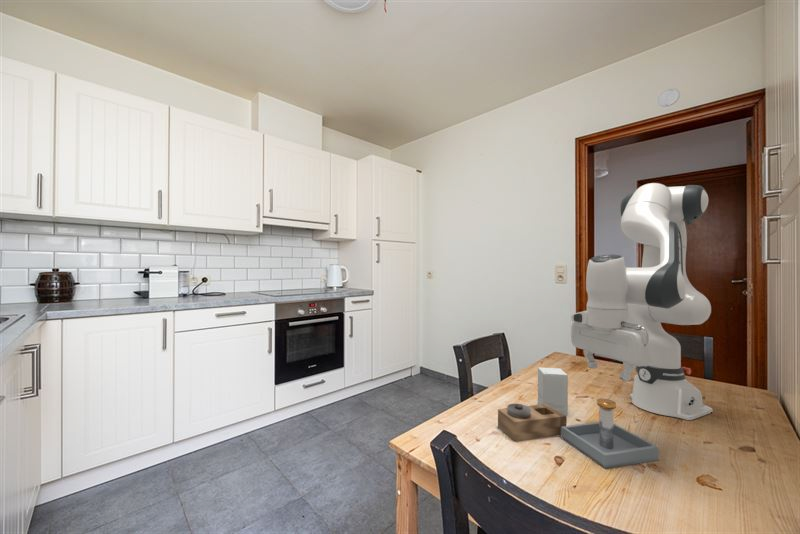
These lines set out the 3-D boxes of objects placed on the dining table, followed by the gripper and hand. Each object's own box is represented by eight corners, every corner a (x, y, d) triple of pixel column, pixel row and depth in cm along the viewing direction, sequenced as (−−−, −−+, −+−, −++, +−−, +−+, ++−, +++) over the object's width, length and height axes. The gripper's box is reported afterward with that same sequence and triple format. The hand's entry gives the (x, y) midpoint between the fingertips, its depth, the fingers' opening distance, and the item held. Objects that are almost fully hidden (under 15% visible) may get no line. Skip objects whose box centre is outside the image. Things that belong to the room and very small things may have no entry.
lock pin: (605, 440, 83) (605, 397, 83) (619, 448, 79) (619, 404, 79) (593, 442, 82) (593, 399, 82) (606, 450, 78) (606, 405, 78)
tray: (608, 431, 88) (608, 420, 89) (658, 459, 75) (658, 446, 75) (560, 438, 85) (561, 426, 85) (605, 468, 72) (605, 455, 72)
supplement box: (568, 416, 97) (568, 375, 98) (542, 414, 99) (542, 373, 99) (561, 406, 105) (561, 368, 105) (537, 404, 106) (537, 366, 106)
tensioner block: (546, 421, 94) (546, 395, 94) (566, 434, 87) (566, 407, 87) (497, 426, 90) (498, 400, 91) (514, 441, 83) (514, 412, 83)
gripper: (658, 325, 71) (660, 387, 71) (585, 312, 91) (586, 361, 91) (636, 327, 70) (637, 390, 70) (566, 314, 89) (567, 363, 90)
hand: (607, 373), depth 80 cm, fingers open, 8 cm apart
